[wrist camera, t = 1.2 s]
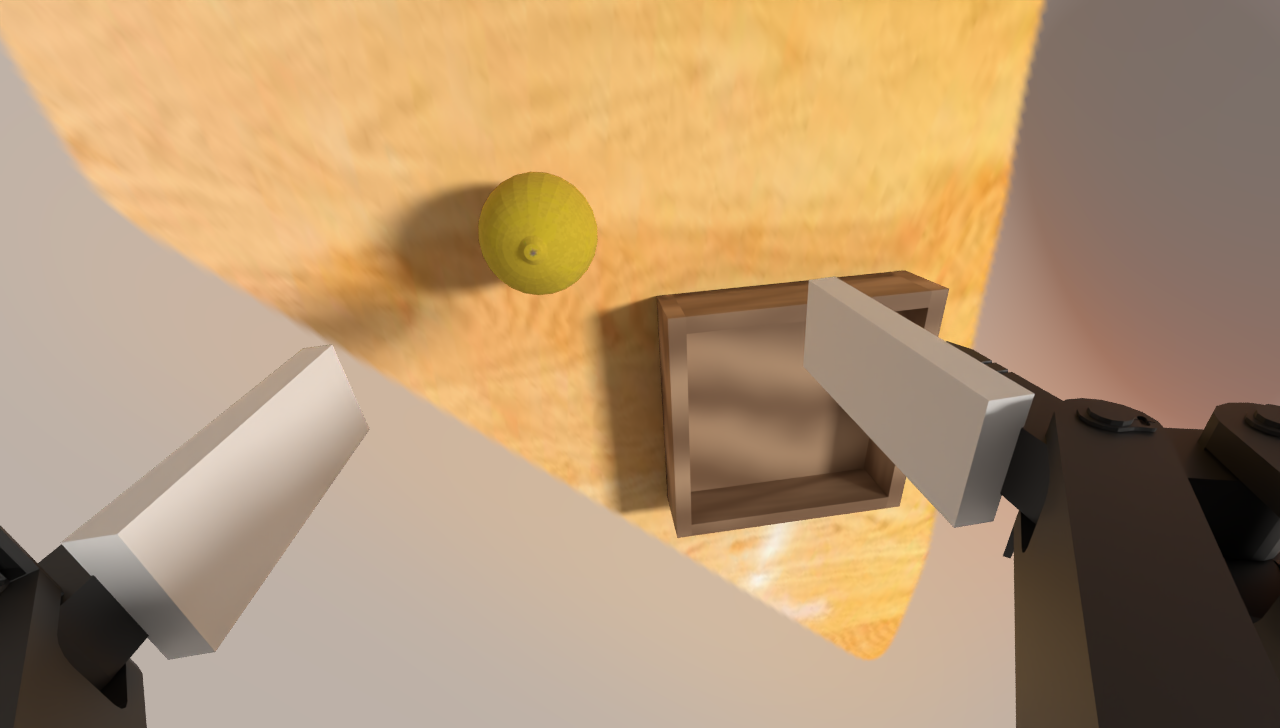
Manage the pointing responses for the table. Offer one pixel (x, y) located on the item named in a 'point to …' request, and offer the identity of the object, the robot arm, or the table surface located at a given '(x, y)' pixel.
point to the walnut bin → (768, 408)
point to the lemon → (537, 233)
